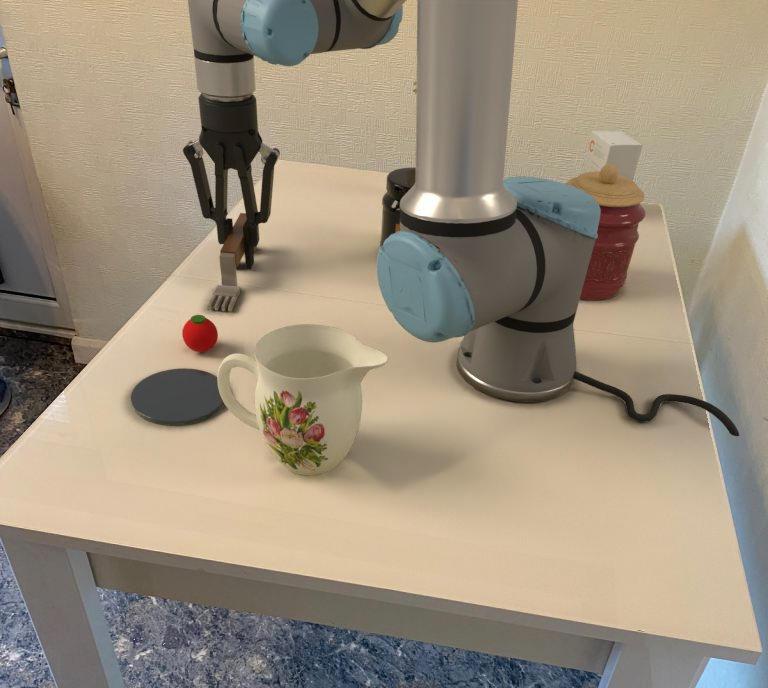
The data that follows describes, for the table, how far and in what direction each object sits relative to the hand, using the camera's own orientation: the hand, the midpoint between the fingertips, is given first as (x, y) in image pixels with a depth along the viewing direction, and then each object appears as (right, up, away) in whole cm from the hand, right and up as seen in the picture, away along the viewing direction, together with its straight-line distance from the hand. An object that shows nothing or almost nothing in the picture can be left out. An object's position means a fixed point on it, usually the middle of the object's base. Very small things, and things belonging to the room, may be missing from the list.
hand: (240, 264), depth 113 cm
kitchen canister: (+53, -2, +3) cm, 53 cm away
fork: (0, -3, -2) cm, 4 cm away
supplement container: (+26, +4, +7) cm, 28 cm away
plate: (-2, -24, -26) cm, 35 cm away
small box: (+62, +18, +26) cm, 70 cm away
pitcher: (+13, -32, -32) cm, 47 cm away
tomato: (-2, -17, -18) cm, 24 cm away
